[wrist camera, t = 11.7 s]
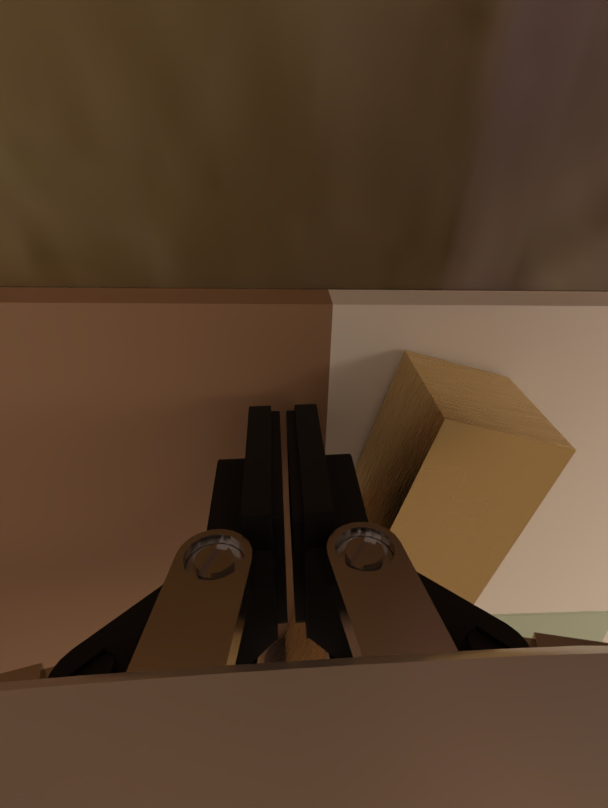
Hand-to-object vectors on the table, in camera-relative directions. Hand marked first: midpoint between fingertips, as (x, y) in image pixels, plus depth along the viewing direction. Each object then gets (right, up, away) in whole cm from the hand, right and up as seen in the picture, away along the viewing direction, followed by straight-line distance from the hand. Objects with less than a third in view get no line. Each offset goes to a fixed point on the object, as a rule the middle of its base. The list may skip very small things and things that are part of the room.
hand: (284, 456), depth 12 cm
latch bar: (+2, -3, +3) cm, 5 cm away
